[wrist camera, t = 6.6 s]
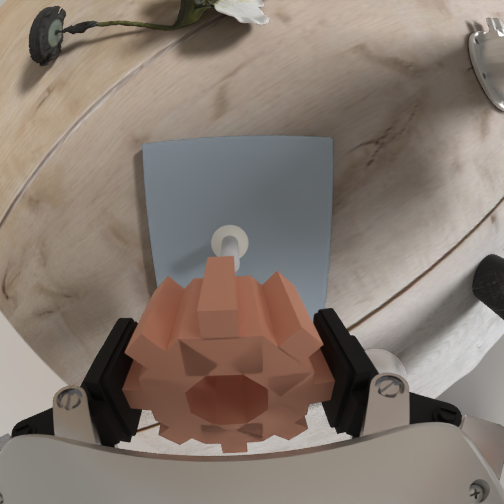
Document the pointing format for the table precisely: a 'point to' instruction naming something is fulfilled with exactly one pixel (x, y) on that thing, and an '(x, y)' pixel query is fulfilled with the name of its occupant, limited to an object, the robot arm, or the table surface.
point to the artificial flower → (131, 23)
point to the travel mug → (490, 283)
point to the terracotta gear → (227, 359)
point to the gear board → (242, 208)
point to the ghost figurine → (386, 362)
